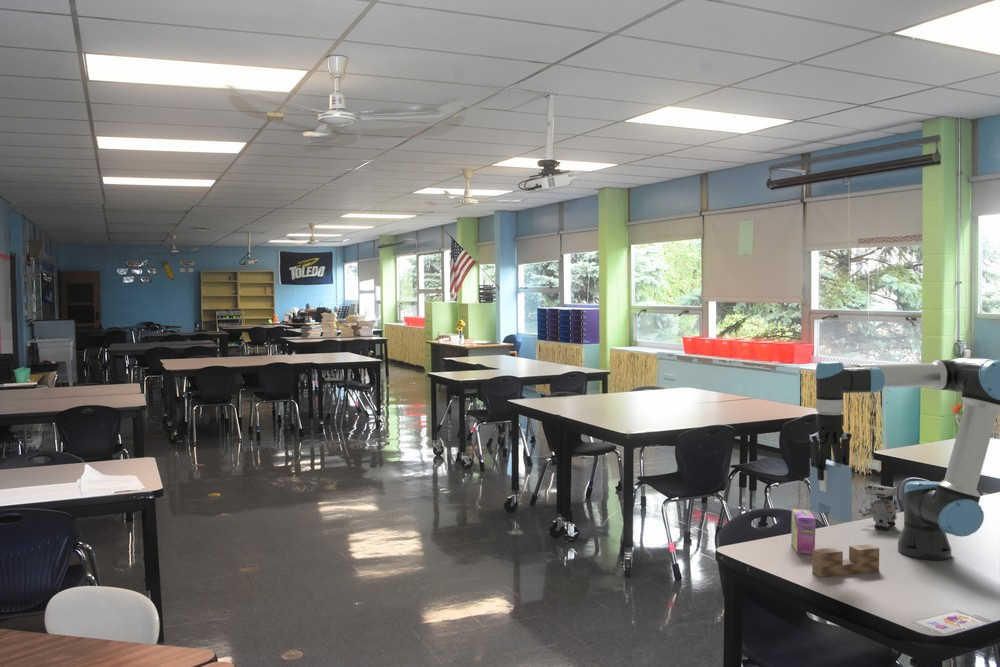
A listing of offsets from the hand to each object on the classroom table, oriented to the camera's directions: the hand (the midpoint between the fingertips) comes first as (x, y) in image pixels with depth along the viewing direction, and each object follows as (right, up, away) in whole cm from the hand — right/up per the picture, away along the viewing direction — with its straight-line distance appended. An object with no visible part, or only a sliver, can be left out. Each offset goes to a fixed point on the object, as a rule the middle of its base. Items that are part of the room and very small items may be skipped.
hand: (830, 490), depth 230 cm
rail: (+4, -24, -2) cm, 24 cm away
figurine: (+37, -23, +46) cm, 63 cm away
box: (0, -24, +20) cm, 31 cm away
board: (0, -8, 0) cm, 8 cm away
